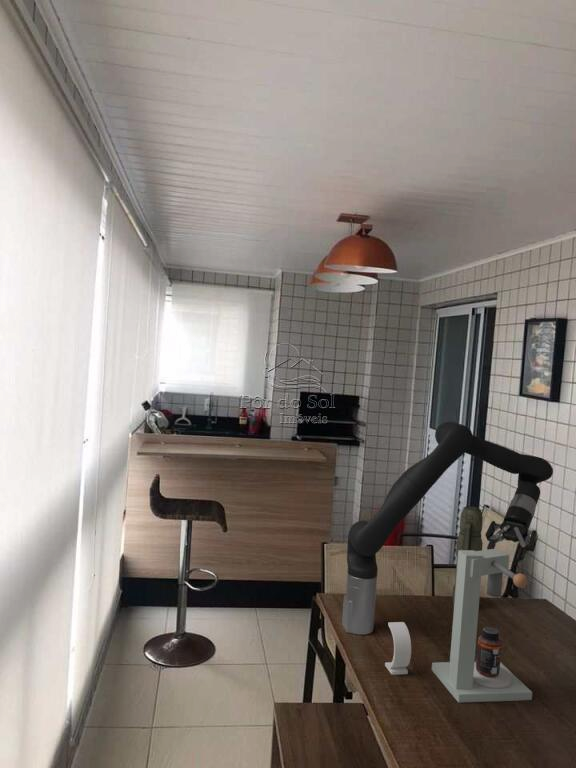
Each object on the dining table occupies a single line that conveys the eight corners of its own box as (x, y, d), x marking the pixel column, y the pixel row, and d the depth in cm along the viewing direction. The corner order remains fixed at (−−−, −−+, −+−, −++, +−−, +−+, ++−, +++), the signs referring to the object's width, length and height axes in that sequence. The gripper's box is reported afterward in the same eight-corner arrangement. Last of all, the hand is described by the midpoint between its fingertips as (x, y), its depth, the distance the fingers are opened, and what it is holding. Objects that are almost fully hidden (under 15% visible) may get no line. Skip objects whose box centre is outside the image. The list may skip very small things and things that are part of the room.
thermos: (450, 608, 209) (457, 509, 208) (453, 597, 220) (461, 502, 219) (476, 613, 206) (484, 512, 205) (478, 602, 216) (486, 506, 216)
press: (477, 725, 138) (489, 572, 138) (431, 669, 164) (441, 539, 163) (555, 722, 142) (567, 572, 141) (498, 668, 167) (508, 540, 166)
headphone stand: (400, 664, 165) (403, 622, 165) (409, 676, 159) (412, 631, 159) (384, 665, 164) (388, 622, 164) (393, 676, 158) (396, 632, 158)
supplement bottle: (501, 679, 155) (504, 636, 154) (477, 676, 156) (480, 633, 155) (497, 668, 160) (500, 627, 160) (474, 665, 162) (477, 624, 161)
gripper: (495, 500, 188) (477, 543, 180) (542, 509, 179) (525, 555, 170) (500, 515, 192) (483, 557, 184) (546, 524, 183) (530, 569, 174)
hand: (503, 556), depth 177 cm, fingers open, 8 cm apart
